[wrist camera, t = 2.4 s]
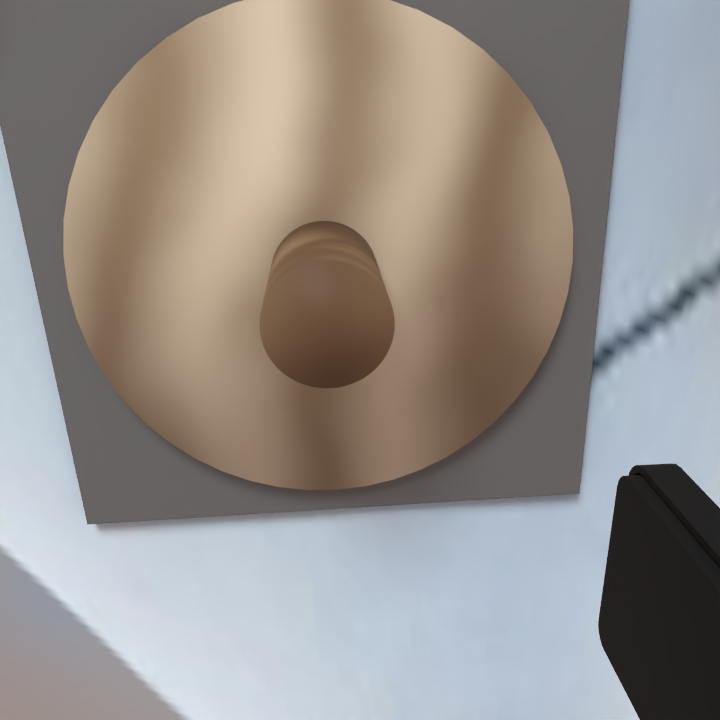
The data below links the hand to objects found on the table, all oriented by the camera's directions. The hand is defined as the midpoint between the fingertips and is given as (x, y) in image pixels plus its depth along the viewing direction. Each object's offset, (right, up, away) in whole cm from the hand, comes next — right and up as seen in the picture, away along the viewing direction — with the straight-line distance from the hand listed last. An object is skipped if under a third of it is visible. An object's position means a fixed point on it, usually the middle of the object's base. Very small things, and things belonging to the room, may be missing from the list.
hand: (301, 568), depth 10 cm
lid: (-1, +6, +17) cm, 18 cm away
